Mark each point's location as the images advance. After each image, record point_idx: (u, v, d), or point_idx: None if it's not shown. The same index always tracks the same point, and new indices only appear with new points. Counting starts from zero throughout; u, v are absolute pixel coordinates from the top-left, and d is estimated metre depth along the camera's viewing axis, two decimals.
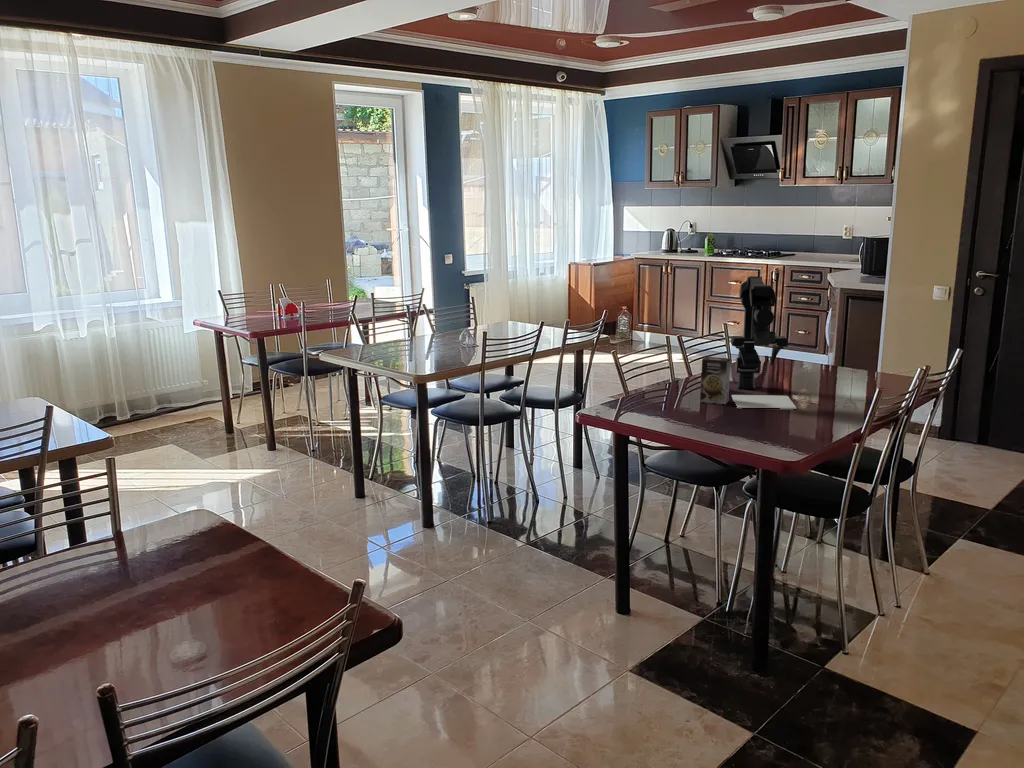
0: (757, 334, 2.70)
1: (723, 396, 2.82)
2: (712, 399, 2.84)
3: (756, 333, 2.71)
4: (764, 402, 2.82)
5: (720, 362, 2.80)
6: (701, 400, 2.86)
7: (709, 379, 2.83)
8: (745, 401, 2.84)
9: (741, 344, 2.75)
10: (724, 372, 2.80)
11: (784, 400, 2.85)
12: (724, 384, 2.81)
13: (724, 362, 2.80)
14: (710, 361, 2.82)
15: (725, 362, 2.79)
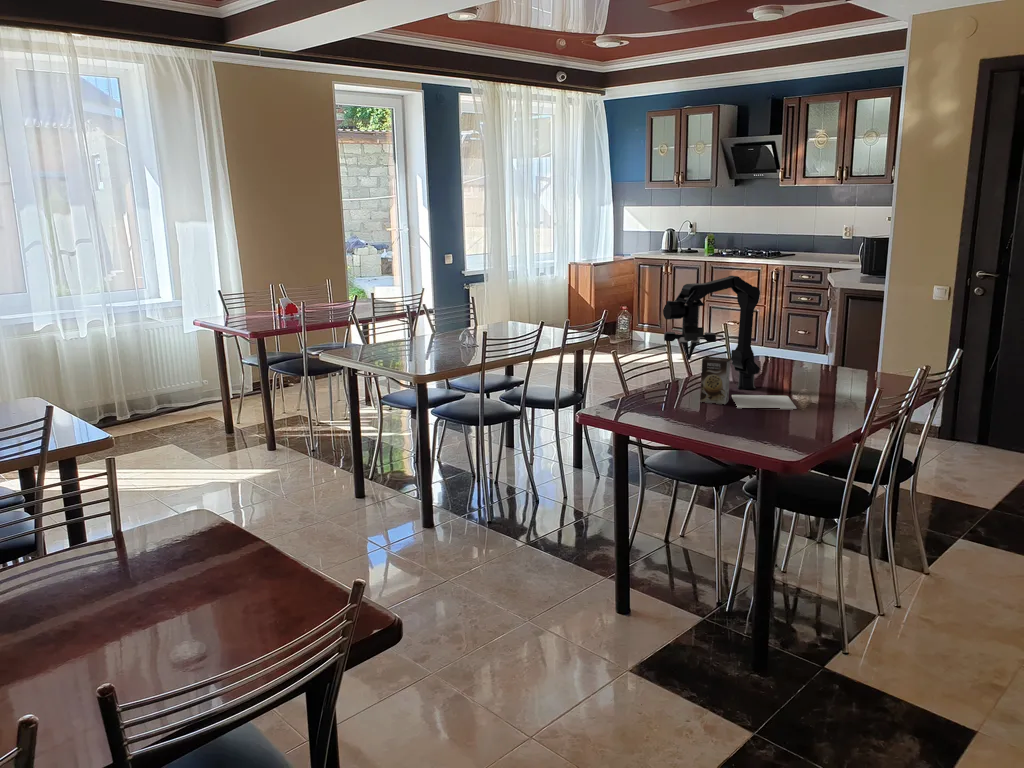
0: (686, 330, 2.88)
1: (723, 396, 2.82)
2: (712, 399, 2.84)
3: (686, 329, 2.89)
4: (764, 402, 2.82)
5: (720, 362, 2.80)
6: (701, 400, 2.86)
7: (709, 379, 2.83)
8: (745, 401, 2.84)
9: (672, 339, 2.92)
10: (724, 372, 2.80)
11: (784, 400, 2.85)
12: (724, 384, 2.81)
13: (724, 362, 2.80)
14: (710, 361, 2.82)
15: (725, 362, 2.79)
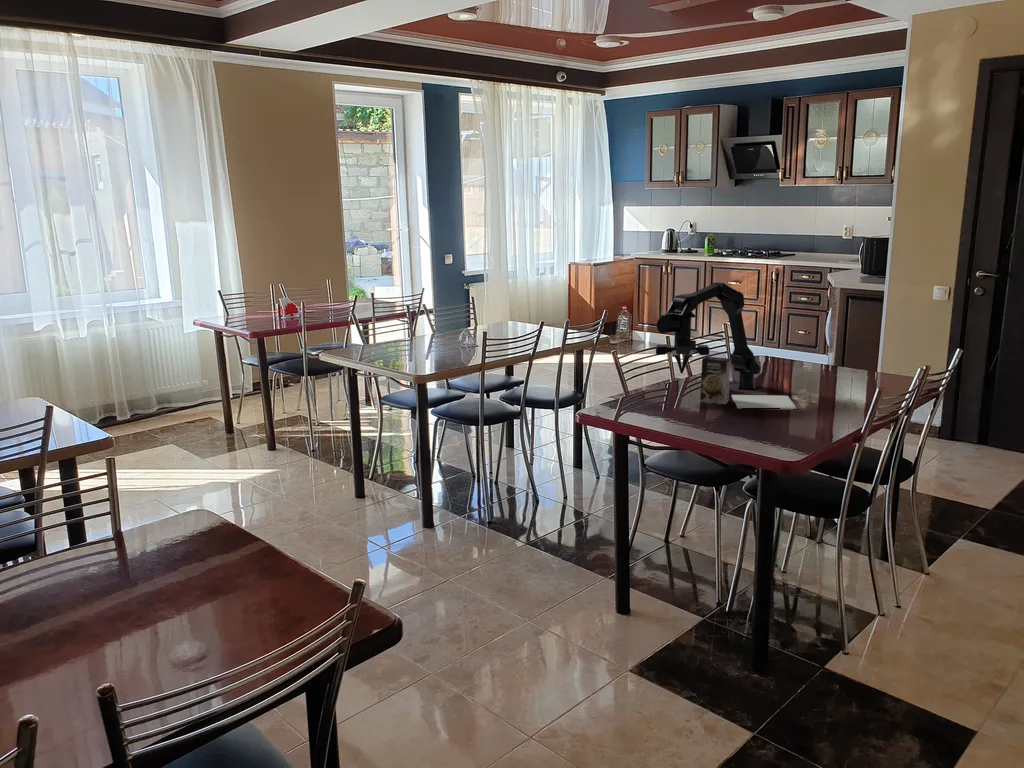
0: (678, 343, 2.79)
1: (723, 396, 2.82)
2: (712, 399, 2.84)
3: (677, 342, 2.79)
4: (764, 402, 2.82)
5: (720, 362, 2.80)
6: (701, 400, 2.86)
7: (709, 379, 2.83)
8: (745, 401, 2.84)
9: (664, 352, 2.83)
10: (724, 372, 2.80)
11: (784, 400, 2.85)
12: (724, 384, 2.81)
13: (724, 362, 2.80)
14: (710, 361, 2.82)
15: (725, 362, 2.79)
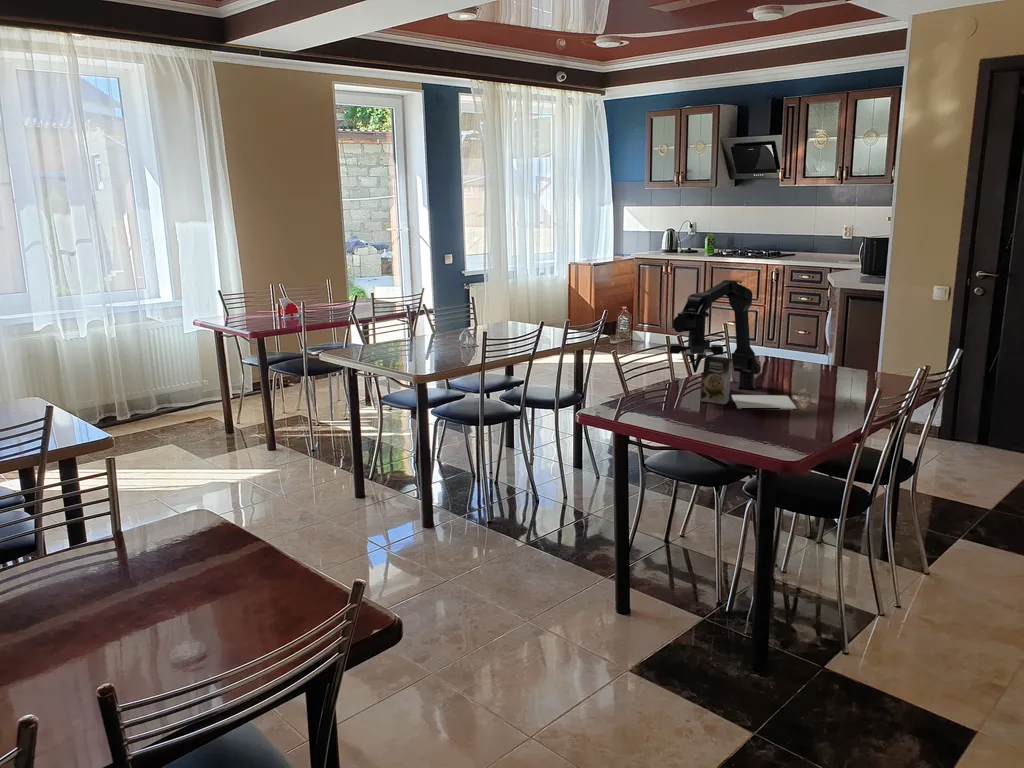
0: (692, 342, 2.78)
1: (724, 396, 2.82)
2: (713, 399, 2.84)
3: (692, 341, 2.78)
4: (764, 402, 2.82)
5: (722, 362, 2.80)
6: (701, 399, 2.86)
7: (710, 379, 2.83)
8: (745, 401, 2.84)
9: (678, 351, 2.82)
10: (726, 372, 2.80)
11: (784, 400, 2.85)
12: (725, 384, 2.81)
13: (726, 362, 2.79)
14: (712, 360, 2.81)
15: (727, 362, 2.79)
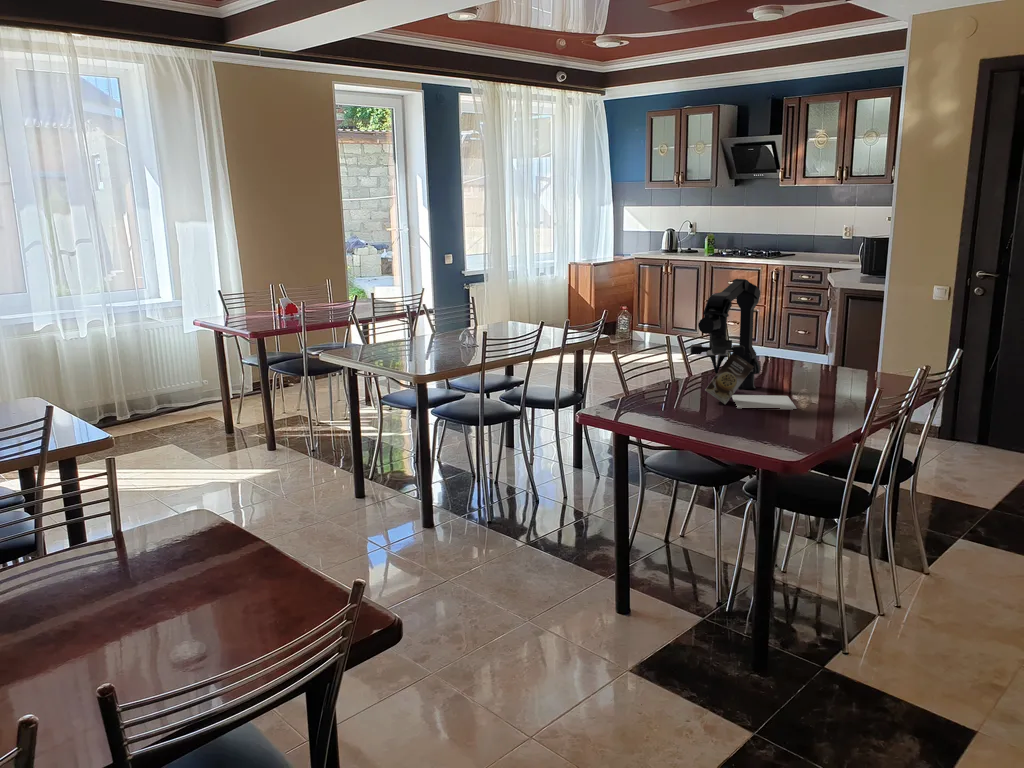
0: (714, 342, 2.77)
1: (728, 397, 2.82)
2: (717, 394, 2.83)
3: (713, 341, 2.77)
4: (764, 402, 2.82)
5: (745, 367, 2.77)
6: (706, 389, 2.84)
7: (725, 376, 2.80)
8: (745, 401, 2.84)
9: (699, 352, 2.81)
10: (743, 377, 2.78)
11: (784, 400, 2.85)
12: (736, 387, 2.80)
13: (749, 369, 2.77)
14: (737, 361, 2.78)
15: (749, 369, 2.77)
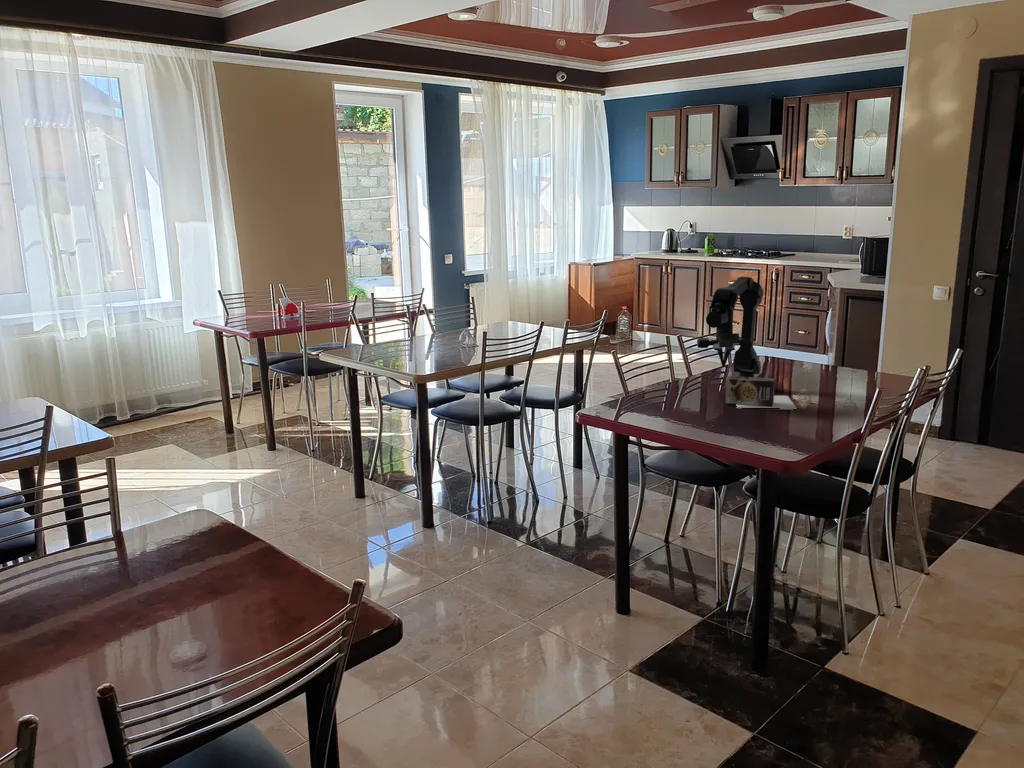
0: (721, 336, 2.78)
1: (734, 402, 2.81)
2: (730, 391, 2.81)
3: (720, 335, 2.79)
4: None
5: (770, 400, 2.76)
6: (728, 380, 2.80)
7: (751, 388, 2.78)
8: None
9: (706, 346, 2.83)
10: (759, 404, 2.78)
11: (784, 400, 2.85)
12: (747, 403, 2.79)
13: (770, 404, 2.76)
14: (771, 390, 2.75)
15: (770, 405, 2.76)
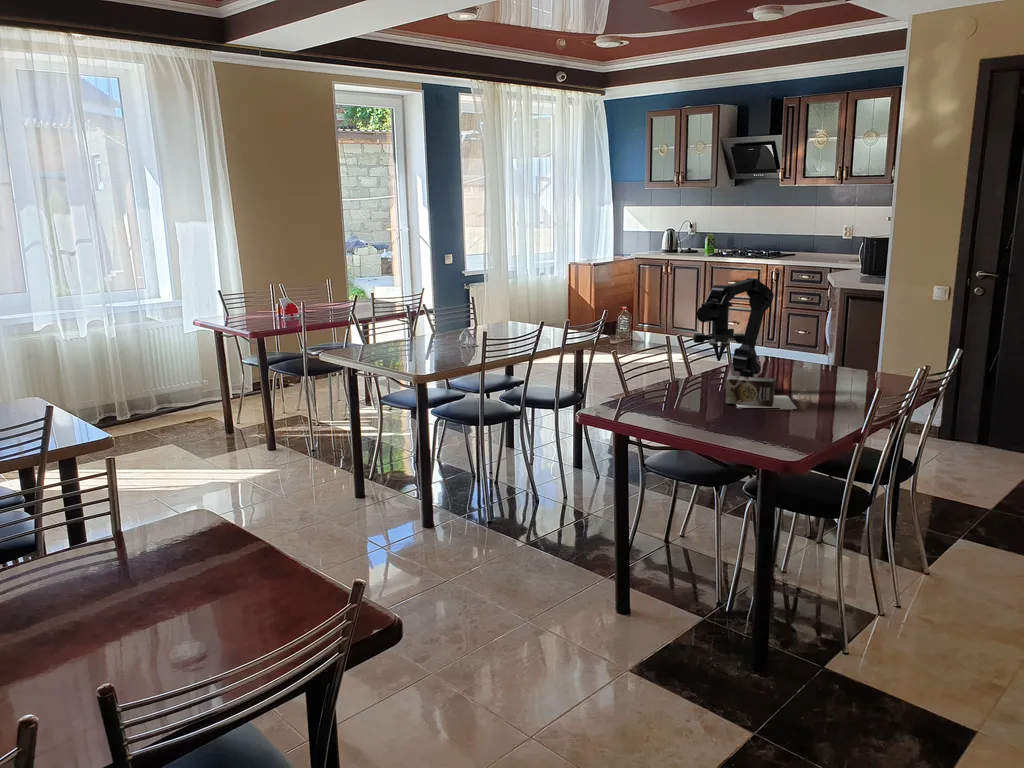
0: (716, 331, 2.86)
1: (734, 402, 2.81)
2: (730, 392, 2.81)
3: (716, 330, 2.87)
4: None
5: (770, 400, 2.76)
6: (728, 380, 2.80)
7: (751, 388, 2.78)
8: None
9: (702, 341, 2.91)
10: (759, 404, 2.78)
11: (784, 400, 2.85)
12: (747, 403, 2.79)
13: (770, 404, 2.76)
14: (771, 390, 2.75)
15: (770, 405, 2.76)
